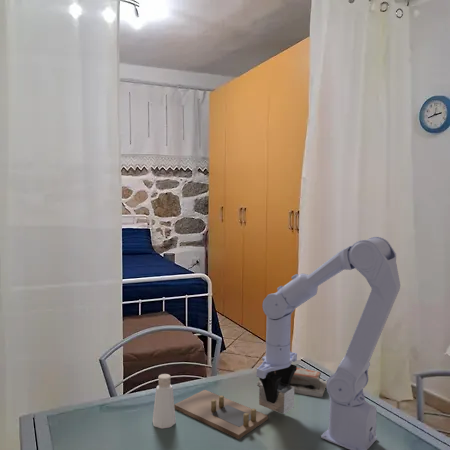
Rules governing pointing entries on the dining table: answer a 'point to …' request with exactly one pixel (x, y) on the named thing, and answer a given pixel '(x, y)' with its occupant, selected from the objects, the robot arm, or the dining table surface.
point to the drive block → (279, 398)
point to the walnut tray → (221, 413)
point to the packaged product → (306, 382)
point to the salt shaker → (164, 403)
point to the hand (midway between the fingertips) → (276, 398)
